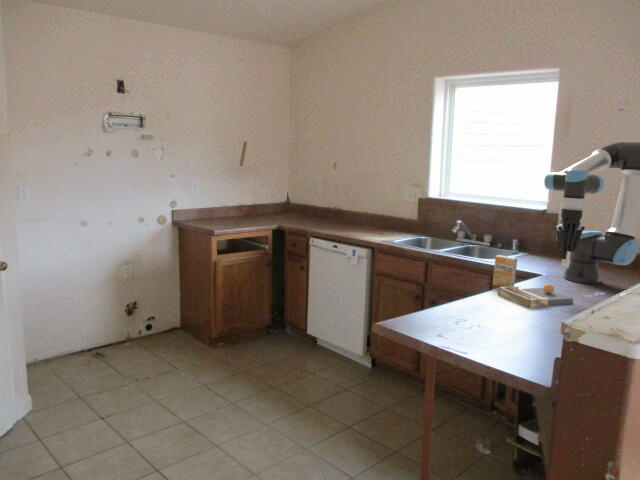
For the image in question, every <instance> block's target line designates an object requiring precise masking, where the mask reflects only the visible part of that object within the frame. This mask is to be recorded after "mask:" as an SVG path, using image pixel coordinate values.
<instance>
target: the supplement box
mask: <svg viewBox="0 0 640 480" xmlns="http://www.w3.org/2000/svg"><path fill="white" fill-rule="evenodd" d="M494 259H495V260H494V266H493V267H494V269H493V275H492V276H493V277H492V286H495V287H512V286H515V281H516V275H517V274H516V272H517V266H518V265H517V264H518V259H519V258H518V257H513V256H507V255H501V254H497V255H495V258H494Z"/></svg>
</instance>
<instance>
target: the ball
mask: <svg viewBox="0 0 640 480" xmlns="http://www.w3.org/2000/svg"><path fill="white" fill-rule="evenodd" d="M542 288H543V290H544V292H545V293H548V294H550V293H552V292H553V291H555V287H554V285H553V284H552V283H546V284H544V286H542Z"/></svg>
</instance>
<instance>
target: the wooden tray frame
mask: <svg viewBox="0 0 640 480" xmlns="http://www.w3.org/2000/svg"><path fill="white" fill-rule="evenodd" d="M518 289H520V288H519V286H518V285H517V286H516V285H514V286H512V287H500V286H498V290H497V291H498V292H497V295H499V296H501V297H503V298H506V299H508V300H510V301H512V302H515V303H516V304H519V305H522V306H524V307H527V308H539V307H548V306H549V305H548V299H549V298H536V299H529V298H527V297H524V296H522V295H519V294H518Z"/></svg>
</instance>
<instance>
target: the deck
mask: <svg viewBox="0 0 640 480" xmlns="http://www.w3.org/2000/svg"><path fill="white" fill-rule="evenodd" d="M518 294H519V295H521V296H524V297H526V298H529V299H536V298H549V299H548V306H554V305H566V304H567V305H568V304H573V303H574V298H573V297H571V296H568V295H565V294H562V293H560V292H557V291H555V290H554V291H553V292H552V293H550V294H548V293H545V292H544V290H543V287H533V288H519V289H518Z"/></svg>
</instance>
